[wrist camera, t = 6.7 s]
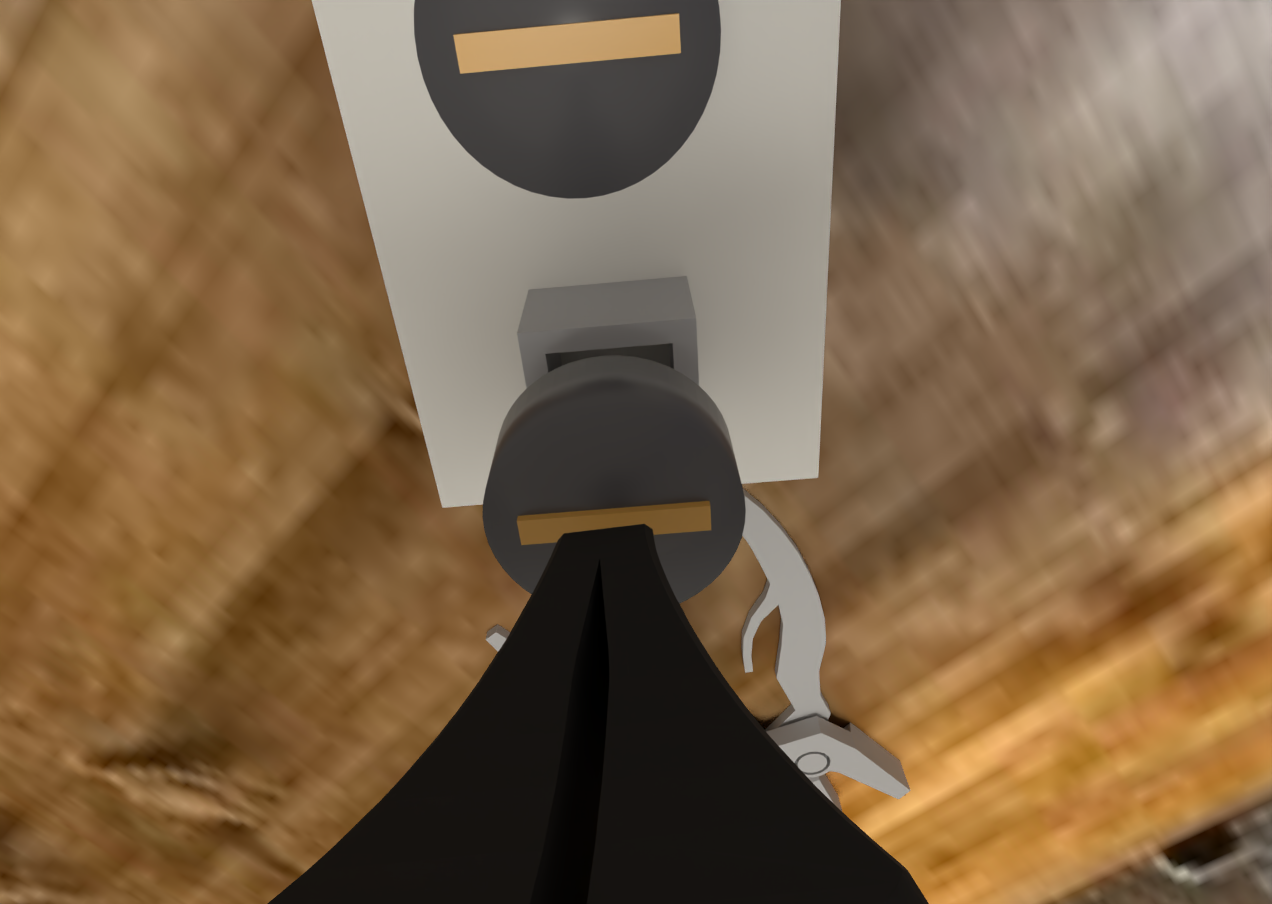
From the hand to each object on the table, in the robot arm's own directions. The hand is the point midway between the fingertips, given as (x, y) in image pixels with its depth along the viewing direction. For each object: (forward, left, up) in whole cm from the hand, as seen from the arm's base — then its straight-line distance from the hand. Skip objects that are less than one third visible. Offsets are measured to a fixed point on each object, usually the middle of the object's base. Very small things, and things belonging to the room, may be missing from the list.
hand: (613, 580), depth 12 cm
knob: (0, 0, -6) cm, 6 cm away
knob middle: (0, -7, -8) cm, 10 cm away
